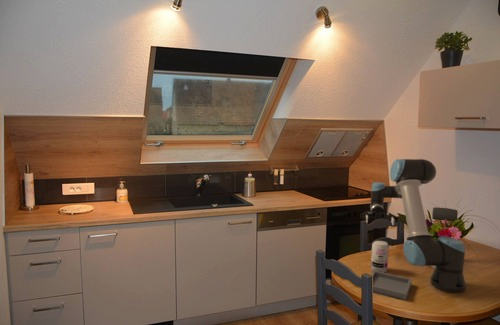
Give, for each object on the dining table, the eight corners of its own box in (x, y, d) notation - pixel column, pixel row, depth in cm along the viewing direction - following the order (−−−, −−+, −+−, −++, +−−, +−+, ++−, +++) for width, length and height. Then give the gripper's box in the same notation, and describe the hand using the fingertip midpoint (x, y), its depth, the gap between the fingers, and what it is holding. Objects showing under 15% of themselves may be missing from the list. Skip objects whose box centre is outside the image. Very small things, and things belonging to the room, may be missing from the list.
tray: (411, 285, 178) (411, 279, 178) (405, 300, 163) (406, 294, 163) (373, 276, 187) (373, 270, 187) (364, 290, 172) (364, 284, 172)
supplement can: (380, 266, 200) (382, 239, 198) (390, 272, 192) (392, 245, 190) (367, 268, 198) (369, 240, 196) (376, 274, 190) (378, 246, 188)
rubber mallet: (452, 259, 212) (457, 208, 208) (453, 263, 205) (458, 211, 201) (428, 255, 217) (432, 205, 213) (428, 259, 210) (433, 208, 206)
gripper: (399, 219, 219) (404, 230, 198) (355, 215, 225) (355, 226, 205) (400, 207, 218) (405, 217, 197) (356, 203, 224) (356, 212, 204)
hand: (380, 221), depth 201 cm, fingers open, 13 cm apart
